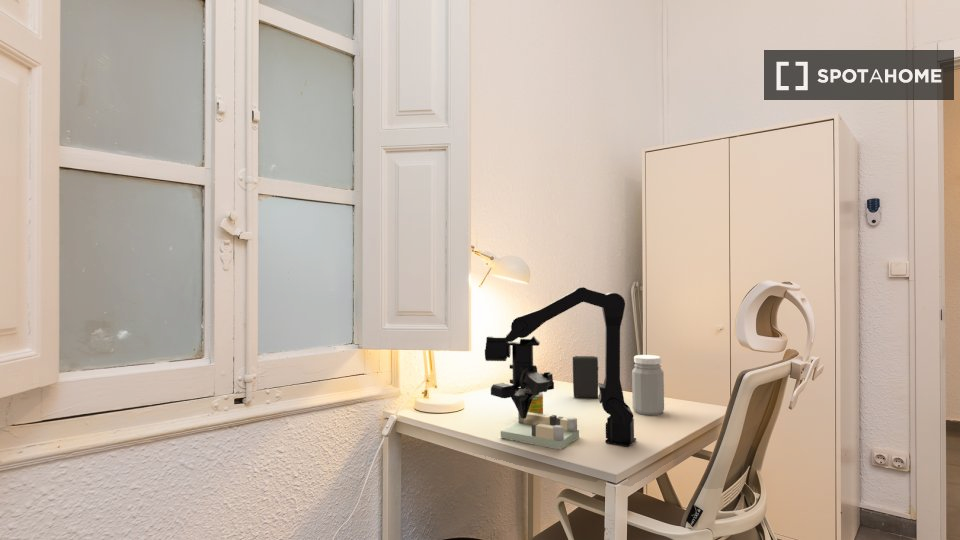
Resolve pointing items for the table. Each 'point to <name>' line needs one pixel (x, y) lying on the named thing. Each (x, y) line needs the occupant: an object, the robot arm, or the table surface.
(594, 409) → the table surface
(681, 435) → the table surface
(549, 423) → the hinged leg
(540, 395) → the supplement bottle
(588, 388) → the card reader
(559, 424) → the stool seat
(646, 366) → the jar
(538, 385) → the robot arm
